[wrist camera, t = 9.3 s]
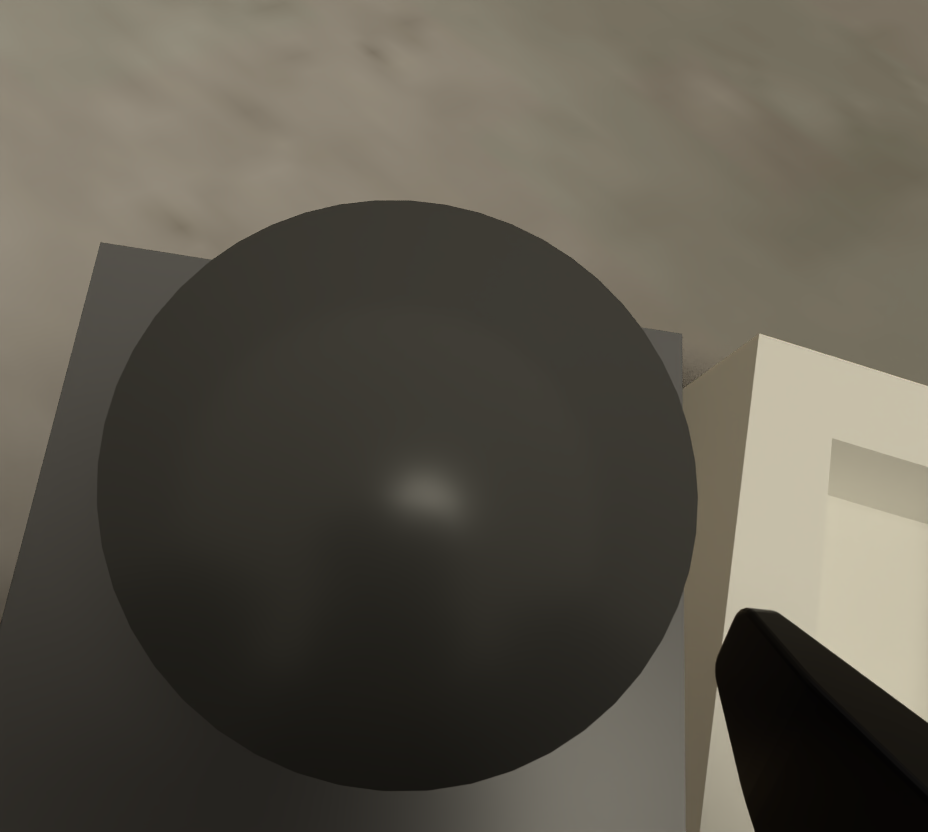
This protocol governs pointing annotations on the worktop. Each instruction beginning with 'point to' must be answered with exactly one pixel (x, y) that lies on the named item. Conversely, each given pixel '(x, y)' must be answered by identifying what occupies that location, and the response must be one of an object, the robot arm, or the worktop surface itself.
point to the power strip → (802, 534)
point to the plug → (354, 544)
